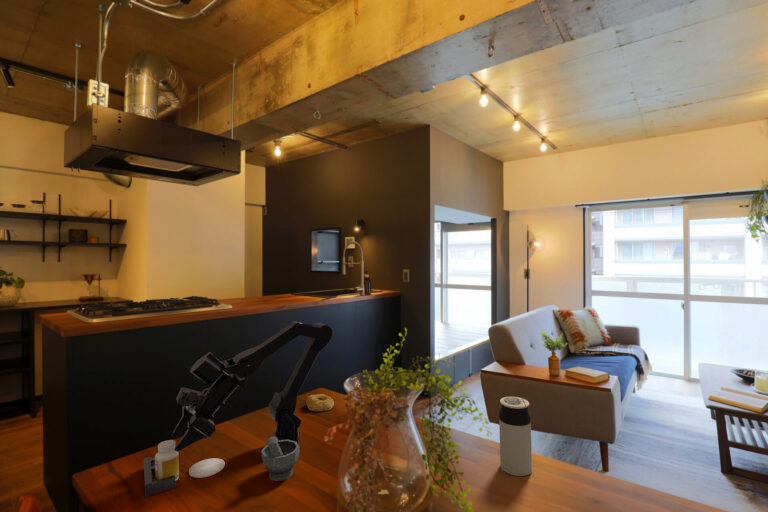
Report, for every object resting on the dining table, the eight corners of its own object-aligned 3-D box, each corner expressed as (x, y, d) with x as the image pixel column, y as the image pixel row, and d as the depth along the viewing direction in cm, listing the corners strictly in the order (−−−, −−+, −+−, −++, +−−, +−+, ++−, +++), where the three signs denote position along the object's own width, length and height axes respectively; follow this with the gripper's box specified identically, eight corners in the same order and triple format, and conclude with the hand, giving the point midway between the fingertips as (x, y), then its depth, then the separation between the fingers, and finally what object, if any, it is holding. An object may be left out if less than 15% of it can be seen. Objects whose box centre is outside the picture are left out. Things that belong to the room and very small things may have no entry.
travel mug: (499, 474, 98) (498, 405, 98) (501, 458, 106) (499, 394, 106) (532, 479, 95) (530, 408, 96) (531, 463, 103) (530, 397, 103)
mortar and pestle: (272, 463, 106) (271, 420, 106) (304, 464, 105) (303, 421, 105) (253, 487, 95) (252, 439, 95) (288, 489, 93) (287, 441, 93)
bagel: (323, 414, 138) (323, 401, 138) (300, 409, 144) (300, 397, 144) (339, 405, 147) (339, 393, 147) (317, 401, 152) (317, 389, 153)
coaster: (227, 458, 109) (227, 456, 109) (220, 475, 100) (220, 473, 100) (194, 461, 107) (194, 460, 107) (184, 479, 99) (184, 478, 99)
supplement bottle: (183, 474, 101) (182, 438, 101) (170, 487, 96) (169, 448, 96) (164, 474, 101) (164, 438, 102) (150, 486, 96) (149, 448, 96)
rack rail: (170, 461, 108) (170, 451, 108) (175, 487, 95) (175, 475, 95) (144, 469, 104) (143, 458, 104) (145, 497, 92) (144, 484, 92)
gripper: (191, 368, 110) (147, 415, 104) (201, 385, 95) (149, 441, 89) (220, 390, 115) (180, 436, 108) (234, 409, 99) (187, 464, 93)
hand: (174, 443), depth 100 cm, fingers open, 9 cm apart
